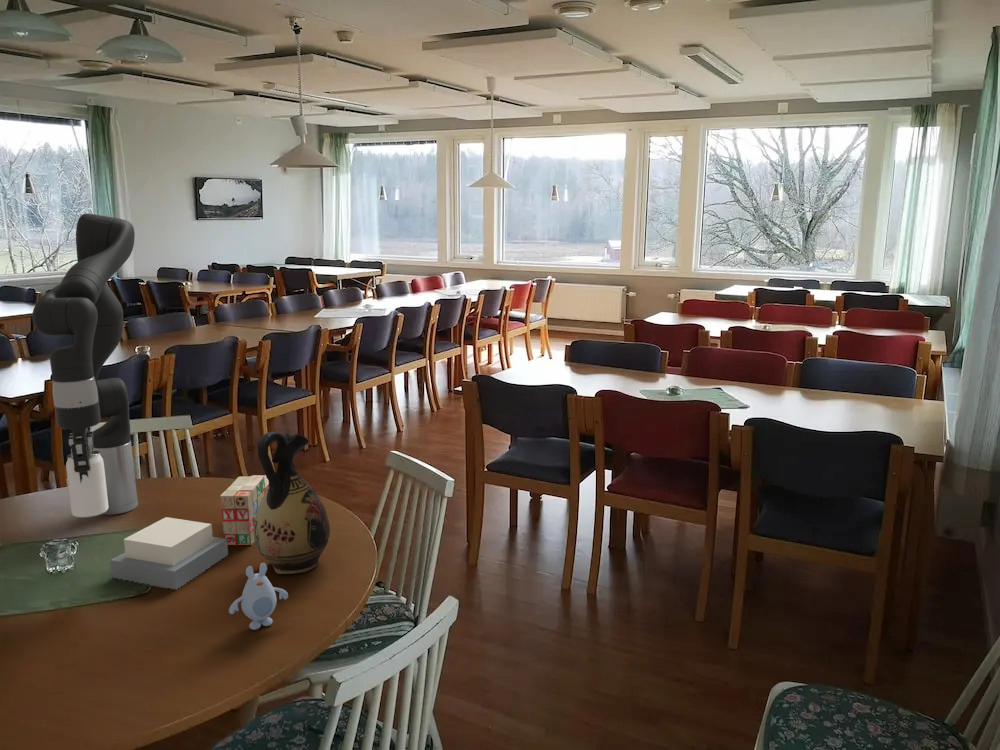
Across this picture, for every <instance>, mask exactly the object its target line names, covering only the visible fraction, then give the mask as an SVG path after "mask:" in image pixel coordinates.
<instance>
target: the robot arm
mask: <svg viewBox="0 0 1000 750" xmlns="http://www.w3.org/2000/svg"><path fill="white" fill-rule="evenodd" d="M135 233H136V232H135V228H134V226H133V224H132V222H130V221H129V220H127V219H122V218H120V217H119V218H118V217H113V216H107V215H100V214H94V213H83V214H81V215H80V216H79V218H78V220H77V223H76V229H75V244H76V247H75V248H76V260H77V262H76V263H75V264H73V265H72V266H71V267H70V268H69V269H68V270H67V272H66V274H65V275H64V277H63V278H62V280H61V281H60V283H59V284H57V285H56V286H55V287H53V288H51V289H50V290H48V291H47V292H46V293H45V294H43V295H42V296H41V297H40V298H39V299H38V300H37V302H36V303H35V305H34V307H33V310H32V313H31V314H32V315H31V318H32V323H33V325H34V327H35V329H36V330H37V331H38V332H39V333H41V334H42V335H45V336H53V337H54V336H75V338H74V341H73V344H71V345H66V346H62V347H59V348H55V349H53V350H52V351H50V354H49V364H50V372H51V379H52V398H53V405H54V412H55V413H54V414H55V420H56V427H58V428H59V429H61V430H65V431H66V430H70V431H71V433H69V437H68V445H69V446H70V452H71V453H70V454H72V460H73V461H74V467H75V468H74V471H75V472H76V473H77V472H79V475H80V481H82V478H83V477H82V475H86V476H87V477H88V471H90V461H89V459H90V458H92V450H96V451H100V455H101V457H102V458H103V462H104V470H105V479H106V488H107V497H108V510H107V511H106V512H105V513H103V514H102V515H107V516H111V515H119V514H124V513H128V512H130V511H132V510H135V509H136V508H137V507H138V505H139V502H138V495H137V494H138V493H137V483H136V476H135V475H136V474H135V467H134V458H133V457H134V455H133V448H132V441H131V438H132V437H131V422H130V421H131V420H130V403H129V400H130V399H129V393H128V388H127V386H126V383H125V382H124V380H123V379H121V378H120V377H111V378H106V379H105V378H104V379H99V378H98V377H99V374H100V372H101V369H102V367H103V366H104V364H105V363H106V361H108V359H109V357H110V356H111V355H112V354H113V352H114V351H115V350H116V348H117V347H118V346H119V344H120V343H121V340H122V339H123V338H122V337H123V335H124V310H123V307H122V304H121V303H120V301H119V298H117V296H116V295H115V293H114V292H113V291H112V289H111V287H110V286H109V285H108V283H107V282H108V281H110V279H111V278H112V277H113V276H115V274H116V273H117V272H118V271H119V269H120V268H121V267H122V266H123V265H124V264H125V263H126V262H127V260H128V259H129V258H130V256H131V254H132V252H133V249H134V245H135ZM102 418H103V419H104V418H109V419H108V420H107V421H106V422H105V423H104V424H102V426H100V427H99V428H98V427H97V428H96V429H94V430H93V431H92V430H91V429H92V427H95V426H97V425H98V424H100V422H101V420H102ZM88 452H89V453H88ZM80 461H85V462H86V465H79V466H78V462H80Z"/></svg>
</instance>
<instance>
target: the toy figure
mask: <svg viewBox="0 0 1000 750" xmlns="http://www.w3.org/2000/svg"><path fill="white" fill-rule="evenodd" d="M267 570H268V566H267V564H266V563H265V562H261V563H260V565H259V570H258V571H259V572H257V573H254V568H253V566H251V565H249V566H247V567H246V569H245V576H247V577H248V579H247V581H246V583H245V585H244V588H243V590H242V595H241V596H240V597H238V598H237V599H235V600H234V601H233V603H231V605H230V607H228V613H229V614H230V615H233V614H235V613H236V612H238V611H239V603H240V607H241V610H242V612H243V614H244V615H245V616H246V617H248V619H250V620H252V621H251V622H250V623H249V625H248V626H249V629H250V630H254V631H255V630H258V629H260V628H261V626H263V627H269V626H271V625H272V624H273V621H274V620H273V618H271V617H270V616H271V615H272V614H273V612H274V611H275V609H276V607H277V601H278V599H277V598H278V597H277V594H276V592H278V593H279V595H278V596H279V600H282V599H283V600H287V599H288V598H289V594H288V592H287V590H285V589H283V588H280V587H274V586H273V585H272V583H271V582H270V580H269V579H268V577H267V576H266V573H267Z"/></svg>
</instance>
